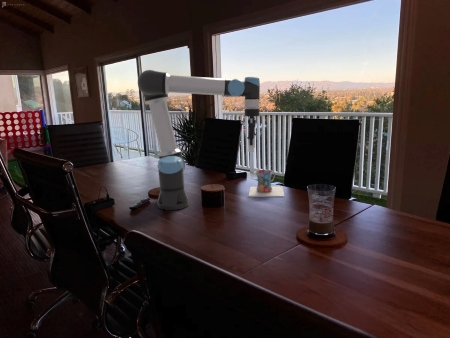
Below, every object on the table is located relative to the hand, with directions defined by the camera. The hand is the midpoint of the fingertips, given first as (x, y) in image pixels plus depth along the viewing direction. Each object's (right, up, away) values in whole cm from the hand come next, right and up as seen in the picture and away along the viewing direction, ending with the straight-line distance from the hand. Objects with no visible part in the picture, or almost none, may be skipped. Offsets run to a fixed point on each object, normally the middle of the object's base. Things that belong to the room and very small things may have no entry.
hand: (251, 149), depth 167 cm
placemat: (+8, -22, +5) cm, 25 cm away
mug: (+8, -22, +6) cm, 24 cm away
